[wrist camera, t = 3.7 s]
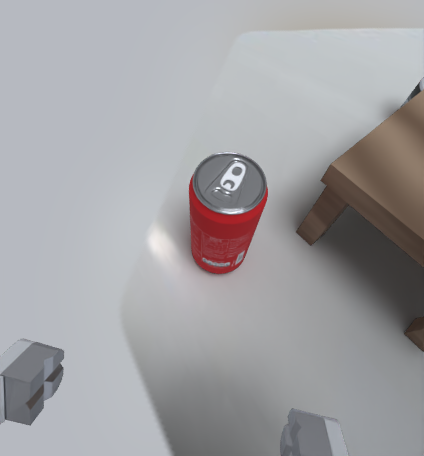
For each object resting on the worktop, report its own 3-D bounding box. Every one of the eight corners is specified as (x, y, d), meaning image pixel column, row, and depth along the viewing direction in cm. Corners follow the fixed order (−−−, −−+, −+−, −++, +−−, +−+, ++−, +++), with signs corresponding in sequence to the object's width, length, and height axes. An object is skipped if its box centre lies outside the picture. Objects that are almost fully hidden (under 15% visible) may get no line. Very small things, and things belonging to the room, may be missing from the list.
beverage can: (181, 261, 30) (173, 194, 19) (207, 219, 32) (212, 137, 21) (230, 286, 29) (249, 231, 18) (253, 242, 31) (283, 168, 20)
